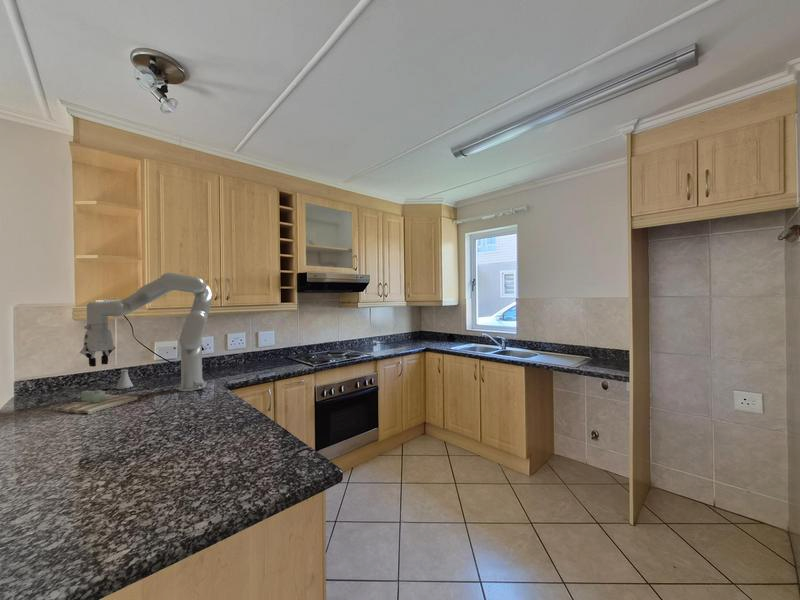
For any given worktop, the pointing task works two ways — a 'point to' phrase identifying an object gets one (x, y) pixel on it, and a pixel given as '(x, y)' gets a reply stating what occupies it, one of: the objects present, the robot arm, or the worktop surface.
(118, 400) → the lock base
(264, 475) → the worktop surface
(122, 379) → the flask
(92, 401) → the lock lever
